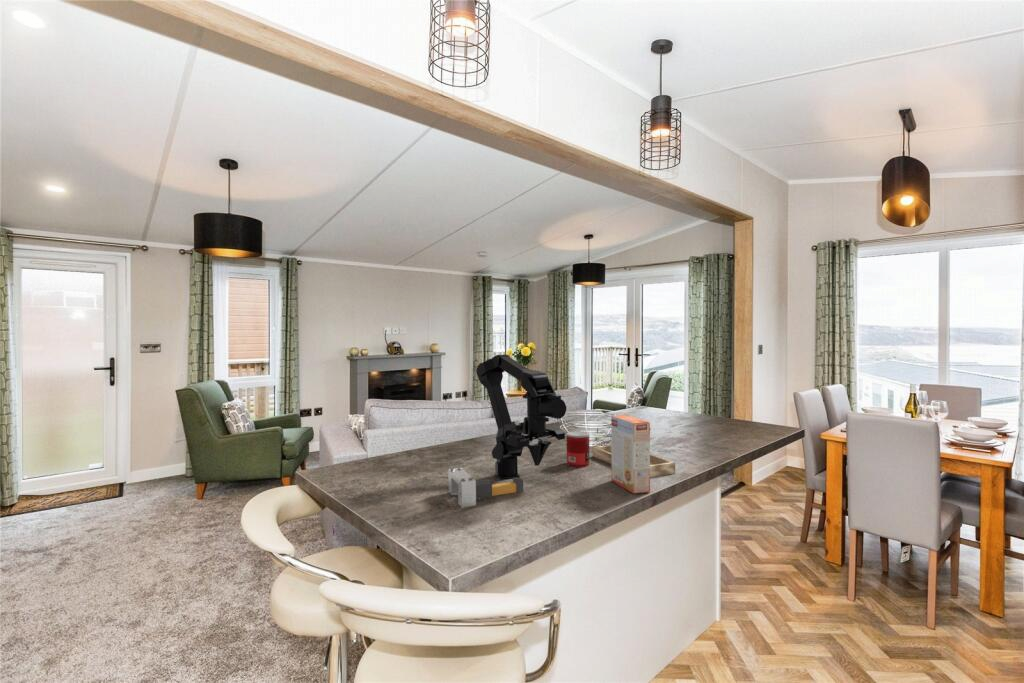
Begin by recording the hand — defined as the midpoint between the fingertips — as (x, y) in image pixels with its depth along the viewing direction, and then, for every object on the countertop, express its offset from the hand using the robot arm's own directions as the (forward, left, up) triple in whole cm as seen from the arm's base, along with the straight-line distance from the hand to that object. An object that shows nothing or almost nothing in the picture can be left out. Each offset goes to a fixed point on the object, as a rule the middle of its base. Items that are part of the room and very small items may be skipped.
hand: (537, 465), depth 148 cm
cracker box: (-26, +11, -7) cm, 29 cm away
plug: (+13, 0, -7) cm, 15 cm away
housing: (+24, 0, -7) cm, 25 cm away
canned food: (-24, -17, -7) cm, 30 cm away
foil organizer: (-41, -9, -7) cm, 43 cm away
